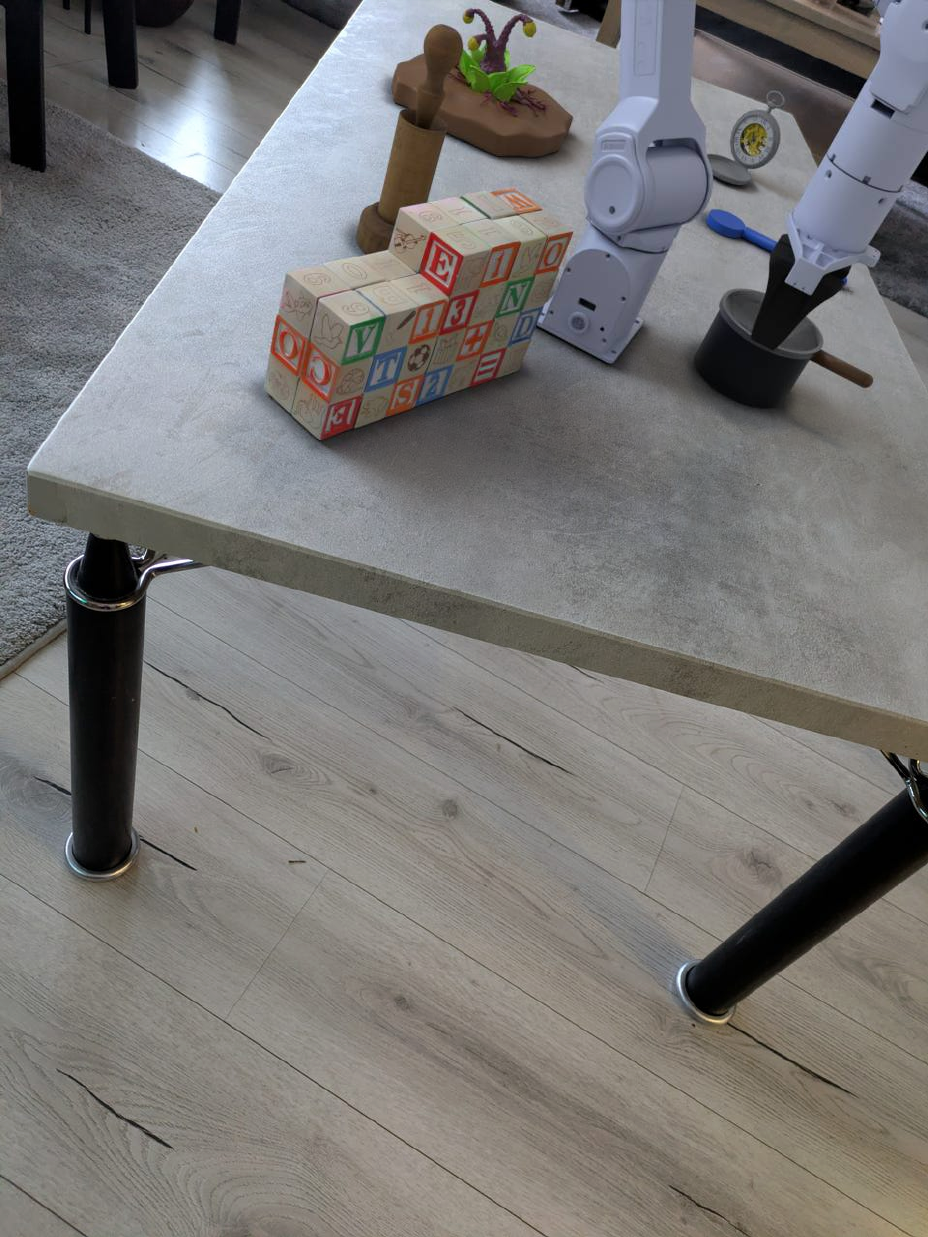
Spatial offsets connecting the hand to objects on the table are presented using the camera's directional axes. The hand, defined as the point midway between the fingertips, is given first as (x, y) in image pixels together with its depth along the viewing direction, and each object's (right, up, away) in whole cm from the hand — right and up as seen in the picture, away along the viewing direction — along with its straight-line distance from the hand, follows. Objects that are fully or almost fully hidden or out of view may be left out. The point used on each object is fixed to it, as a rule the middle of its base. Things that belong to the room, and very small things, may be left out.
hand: (764, 340), depth 77 cm
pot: (+4, -1, +13) cm, 13 cm away
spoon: (+12, +20, +35) cm, 42 cm away
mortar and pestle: (-30, +11, +10) cm, 33 cm away
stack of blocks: (-28, -4, -3) cm, 29 cm away
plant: (-21, +36, +37) cm, 56 cm away
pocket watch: (+10, +34, +48) cm, 60 cm away
